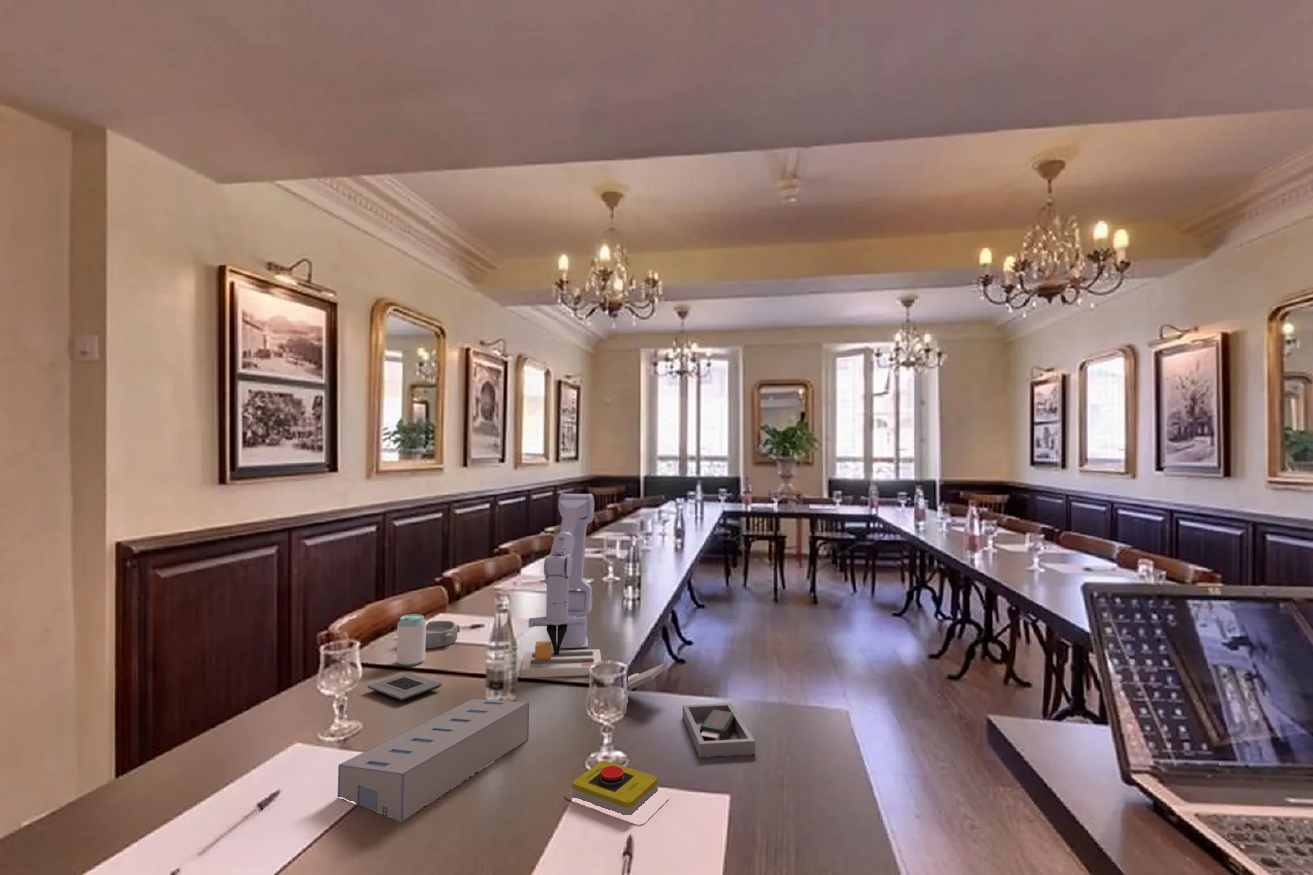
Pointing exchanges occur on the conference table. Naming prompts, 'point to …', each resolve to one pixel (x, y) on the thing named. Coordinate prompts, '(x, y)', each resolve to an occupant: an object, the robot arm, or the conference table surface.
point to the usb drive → (717, 725)
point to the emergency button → (615, 787)
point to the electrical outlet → (404, 686)
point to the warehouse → (433, 757)
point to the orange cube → (543, 650)
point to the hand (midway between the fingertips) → (556, 653)
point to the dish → (441, 633)
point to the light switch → (644, 676)
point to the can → (411, 639)
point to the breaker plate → (560, 663)
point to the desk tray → (719, 746)
